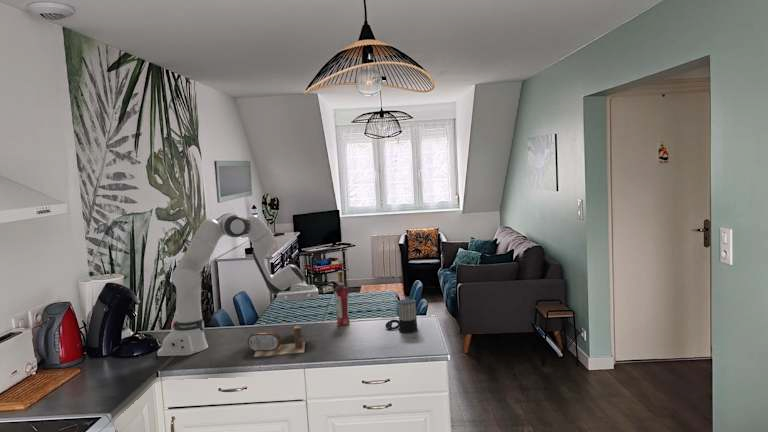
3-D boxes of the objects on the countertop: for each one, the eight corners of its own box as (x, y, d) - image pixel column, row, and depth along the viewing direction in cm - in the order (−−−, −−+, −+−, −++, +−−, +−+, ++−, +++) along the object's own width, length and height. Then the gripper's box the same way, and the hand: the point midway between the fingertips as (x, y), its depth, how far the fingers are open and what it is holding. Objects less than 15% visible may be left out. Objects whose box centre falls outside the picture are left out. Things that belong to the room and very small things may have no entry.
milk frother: (418, 333, 275) (416, 302, 274) (385, 335, 275) (383, 304, 274) (417, 325, 289) (415, 296, 288) (385, 326, 290) (384, 297, 288)
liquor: (334, 324, 300) (330, 271, 297) (347, 321, 303) (343, 269, 301) (339, 327, 293) (336, 273, 291) (352, 324, 297) (349, 271, 294)
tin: (281, 348, 262) (280, 330, 261) (280, 351, 258) (278, 332, 258) (249, 349, 263) (248, 331, 262) (247, 352, 260) (246, 333, 259)
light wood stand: (253, 357, 253) (252, 335, 253) (257, 347, 267) (255, 326, 266) (304, 352, 256) (302, 330, 255) (305, 343, 270) (303, 322, 269)
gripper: (276, 288, 285) (274, 294, 271) (318, 284, 287) (318, 290, 273) (277, 300, 286) (275, 307, 272) (319, 296, 288) (319, 303, 274)
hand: (297, 298), depth 273 cm, fingers open, 8 cm apart
